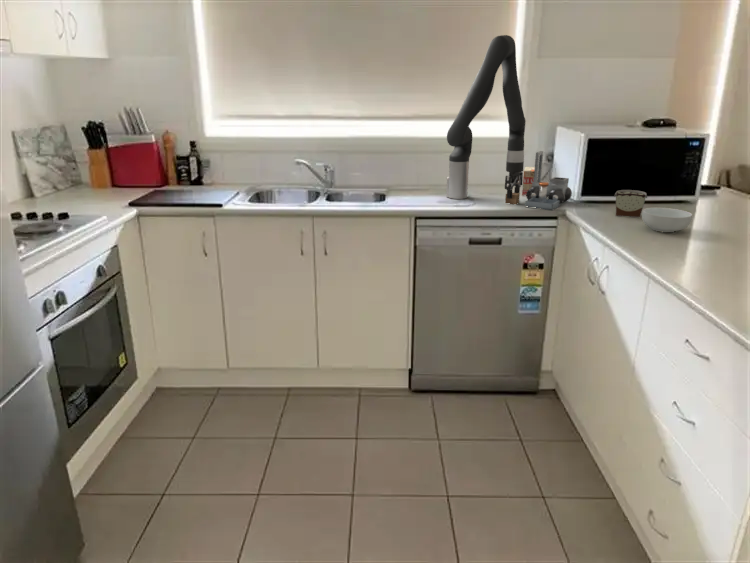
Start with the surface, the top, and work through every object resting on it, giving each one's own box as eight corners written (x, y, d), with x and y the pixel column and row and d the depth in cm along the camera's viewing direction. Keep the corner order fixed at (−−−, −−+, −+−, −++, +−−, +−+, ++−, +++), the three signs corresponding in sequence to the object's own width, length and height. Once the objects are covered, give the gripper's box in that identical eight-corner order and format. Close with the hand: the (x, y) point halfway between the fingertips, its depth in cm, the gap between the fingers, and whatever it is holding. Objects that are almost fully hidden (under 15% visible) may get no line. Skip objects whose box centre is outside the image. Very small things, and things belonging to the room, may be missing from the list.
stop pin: (535, 205, 255) (537, 182, 252) (539, 204, 258) (541, 181, 255) (544, 206, 253) (546, 183, 250) (547, 205, 256) (549, 182, 253)
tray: (525, 207, 256) (525, 201, 255) (532, 203, 263) (533, 197, 262) (552, 210, 249) (552, 204, 248) (559, 206, 256) (559, 200, 255)
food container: (643, 214, 240) (646, 190, 237) (644, 217, 235) (647, 193, 231) (611, 212, 244) (614, 189, 241) (611, 215, 239) (614, 191, 235)
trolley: (525, 202, 265) (529, 153, 257) (534, 197, 274) (538, 150, 267) (562, 206, 255) (567, 155, 248) (571, 201, 265) (576, 152, 257)
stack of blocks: (524, 187, 298) (526, 163, 294) (536, 188, 297) (538, 164, 292) (521, 196, 279) (523, 170, 275) (535, 196, 277) (537, 170, 273)
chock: (505, 203, 263) (505, 193, 262) (508, 202, 266) (509, 192, 265) (515, 204, 261) (516, 194, 259) (518, 203, 264) (519, 193, 262)
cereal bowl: (686, 238, 205) (690, 219, 203) (636, 232, 214) (639, 213, 211) (691, 228, 219) (694, 209, 217) (643, 222, 227) (646, 205, 225)
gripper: (516, 163, 249) (514, 200, 254) (529, 159, 260) (527, 195, 265) (500, 162, 253) (498, 198, 258) (513, 158, 264) (511, 193, 269)
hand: (513, 196), depth 262 cm, fingers open, 8 cm apart
